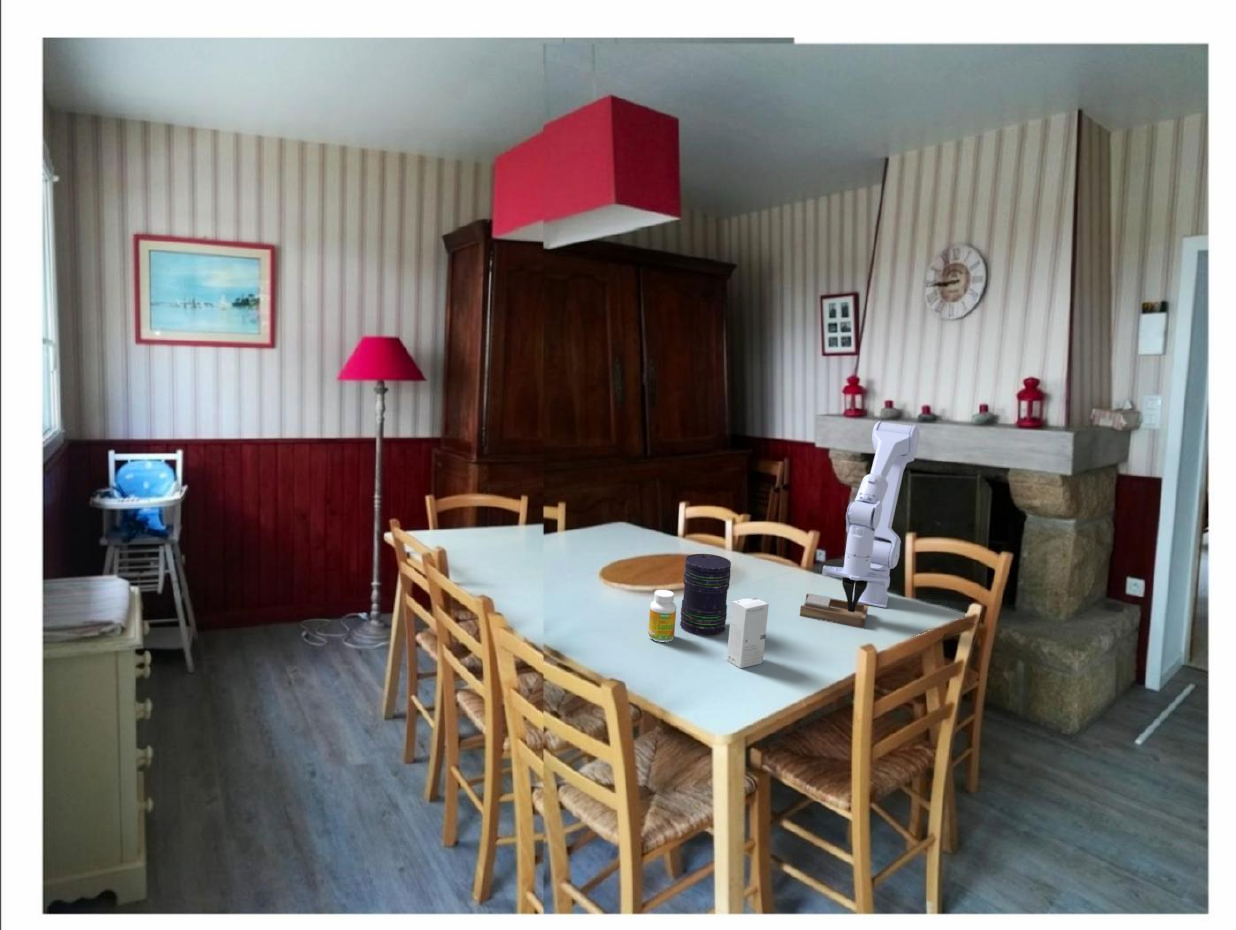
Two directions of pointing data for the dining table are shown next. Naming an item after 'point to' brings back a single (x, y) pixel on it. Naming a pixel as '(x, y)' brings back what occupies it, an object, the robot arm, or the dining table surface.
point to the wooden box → (838, 613)
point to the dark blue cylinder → (705, 594)
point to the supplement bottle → (662, 616)
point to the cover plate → (818, 602)
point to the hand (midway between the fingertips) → (851, 610)
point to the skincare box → (747, 632)
